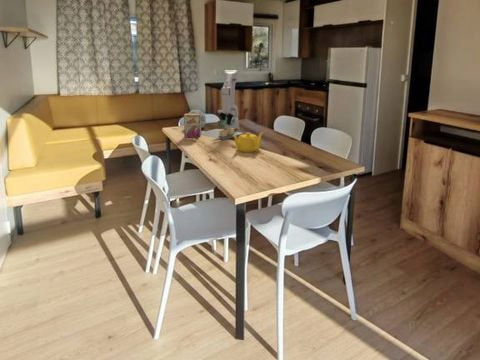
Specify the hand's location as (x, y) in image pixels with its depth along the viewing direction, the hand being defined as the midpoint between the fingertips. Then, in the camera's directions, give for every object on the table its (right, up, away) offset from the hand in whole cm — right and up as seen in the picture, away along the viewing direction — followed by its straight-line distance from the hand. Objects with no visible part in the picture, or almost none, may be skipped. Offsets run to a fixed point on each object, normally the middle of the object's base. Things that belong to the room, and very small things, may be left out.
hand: (226, 124), depth 275 cm
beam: (0, -1, 0) cm, 1 cm away
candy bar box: (-23, -10, -1) cm, 25 cm away
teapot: (+15, -21, -35) cm, 43 cm away
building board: (-5, -7, +7) cm, 11 cm away
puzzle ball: (-24, 0, +25) cm, 35 cm away
